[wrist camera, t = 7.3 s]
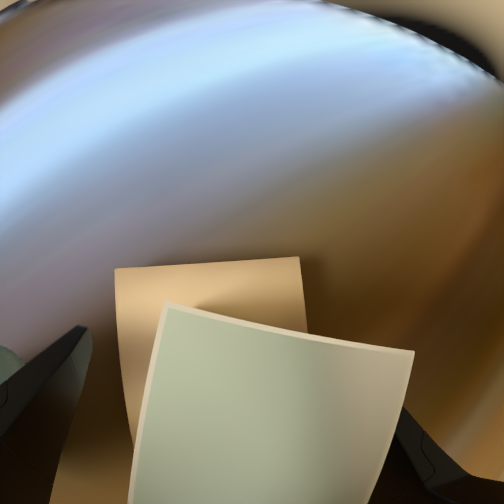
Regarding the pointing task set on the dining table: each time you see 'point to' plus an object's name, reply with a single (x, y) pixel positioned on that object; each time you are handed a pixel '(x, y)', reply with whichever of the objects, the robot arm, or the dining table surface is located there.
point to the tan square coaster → (199, 306)
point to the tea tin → (262, 414)
